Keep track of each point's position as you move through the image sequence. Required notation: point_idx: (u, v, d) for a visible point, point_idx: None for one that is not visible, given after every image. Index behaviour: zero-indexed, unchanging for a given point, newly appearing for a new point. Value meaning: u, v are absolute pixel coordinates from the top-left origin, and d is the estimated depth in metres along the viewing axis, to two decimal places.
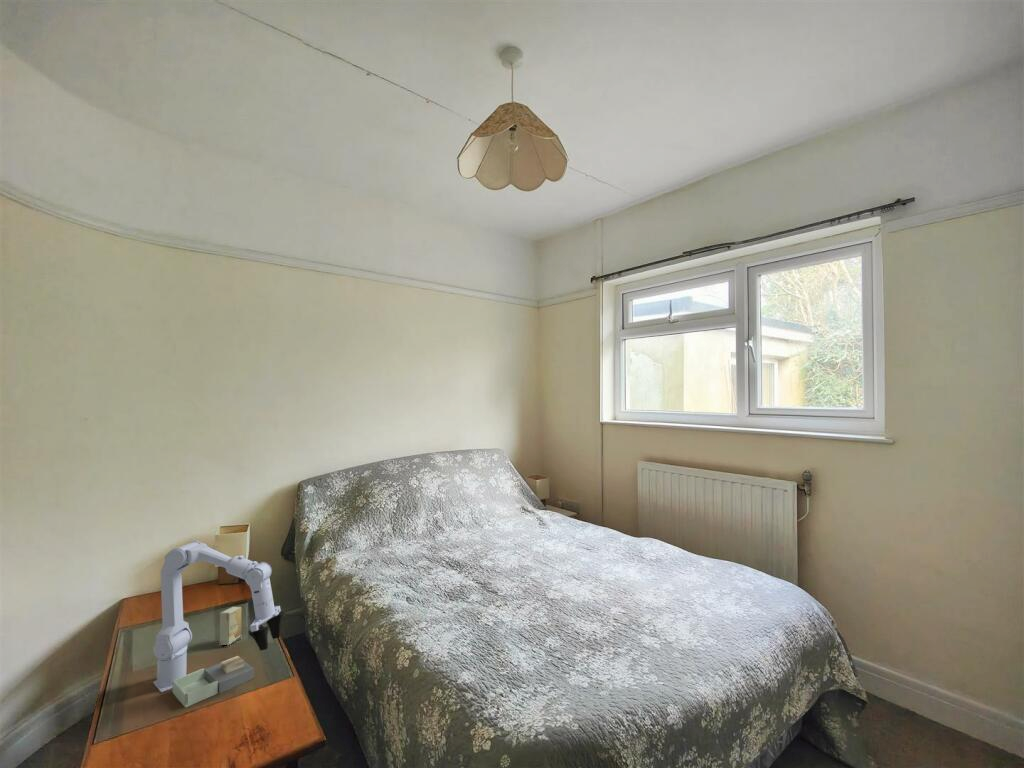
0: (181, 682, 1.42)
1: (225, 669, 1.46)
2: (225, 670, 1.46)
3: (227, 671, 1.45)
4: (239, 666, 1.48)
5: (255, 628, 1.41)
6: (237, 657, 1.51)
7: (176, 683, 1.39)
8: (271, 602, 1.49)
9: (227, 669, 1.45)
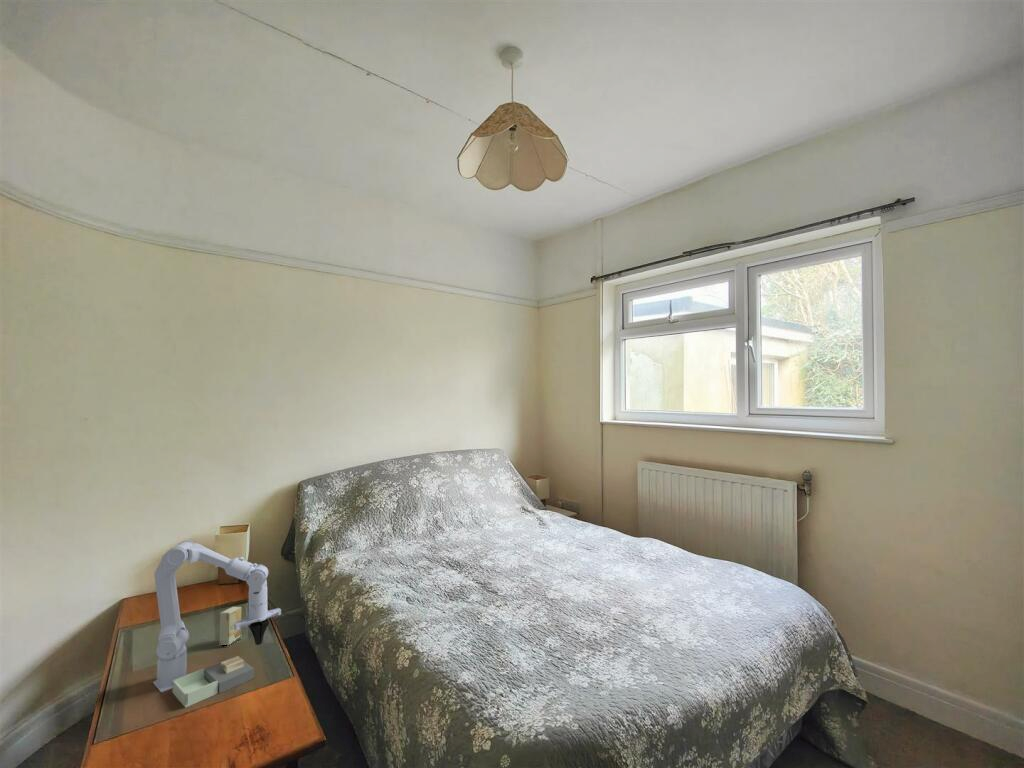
0: (181, 682, 1.42)
1: (225, 669, 1.46)
2: (225, 670, 1.46)
3: (227, 671, 1.45)
4: (239, 666, 1.48)
5: (235, 628, 1.50)
6: (237, 657, 1.51)
7: (176, 683, 1.39)
8: (260, 607, 1.54)
9: (227, 669, 1.45)
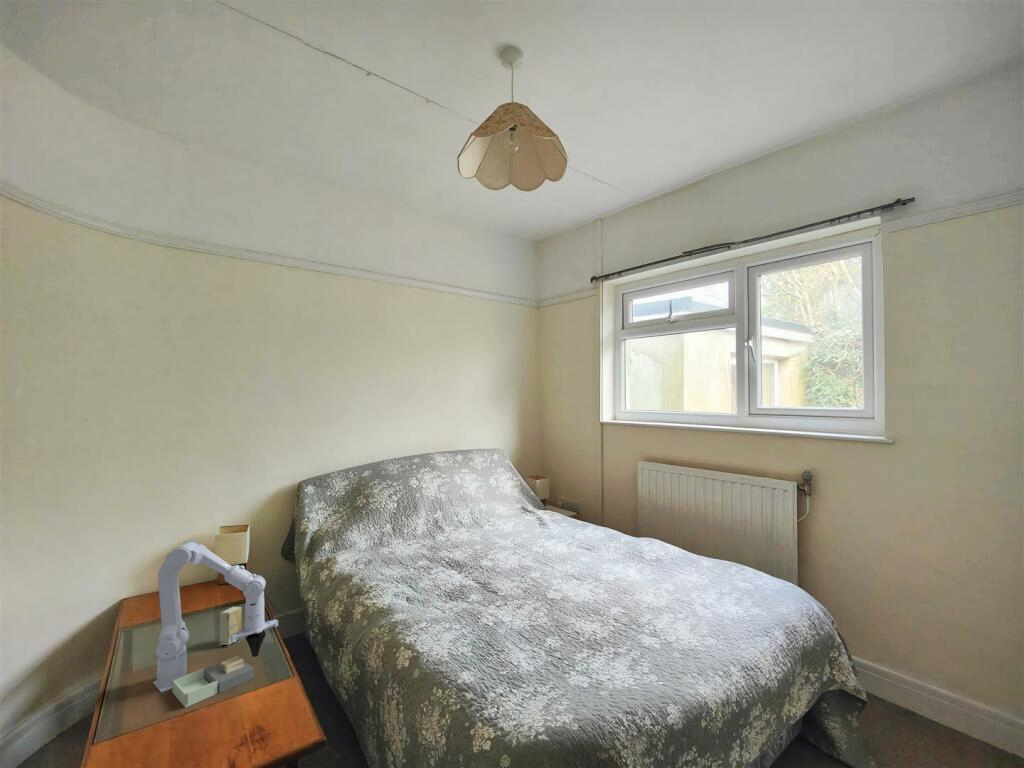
0: (181, 682, 1.42)
1: (225, 669, 1.46)
2: (225, 670, 1.46)
3: (227, 671, 1.45)
4: (239, 666, 1.48)
5: (232, 640, 1.49)
6: (237, 657, 1.51)
7: (176, 683, 1.39)
8: (257, 618, 1.53)
9: (227, 669, 1.45)
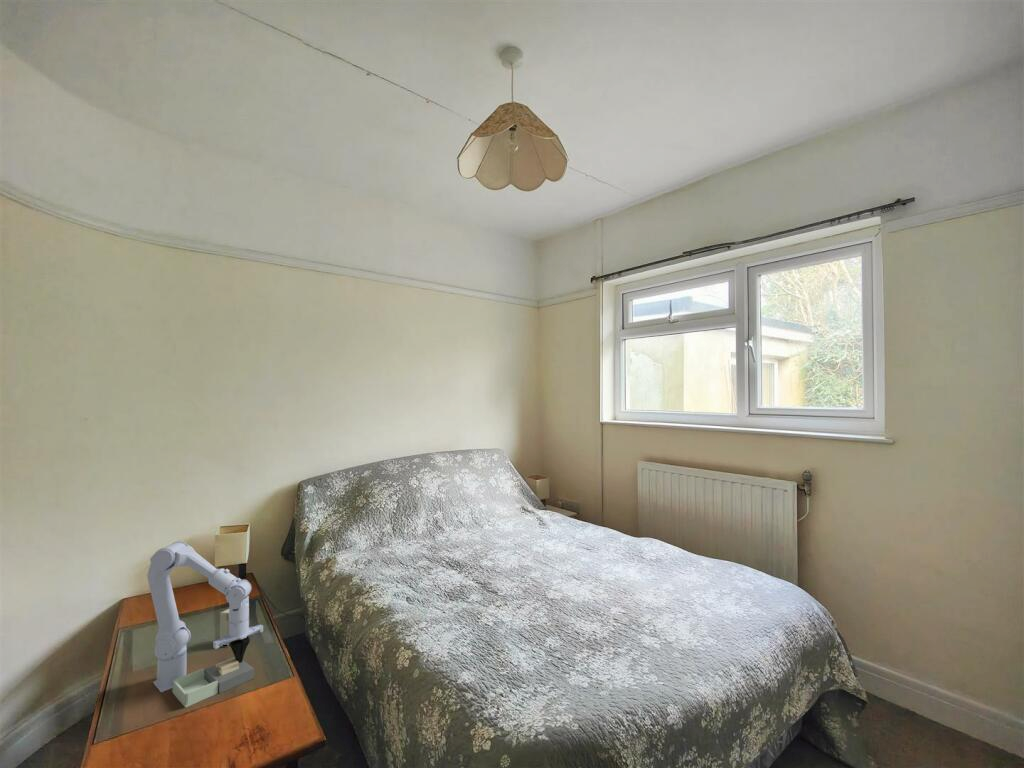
0: (181, 682, 1.42)
1: (220, 671, 1.45)
2: (220, 672, 1.45)
3: (222, 673, 1.44)
4: (234, 668, 1.47)
5: (215, 646, 1.45)
6: (232, 659, 1.50)
7: (176, 683, 1.39)
8: (241, 624, 1.49)
9: (222, 671, 1.44)
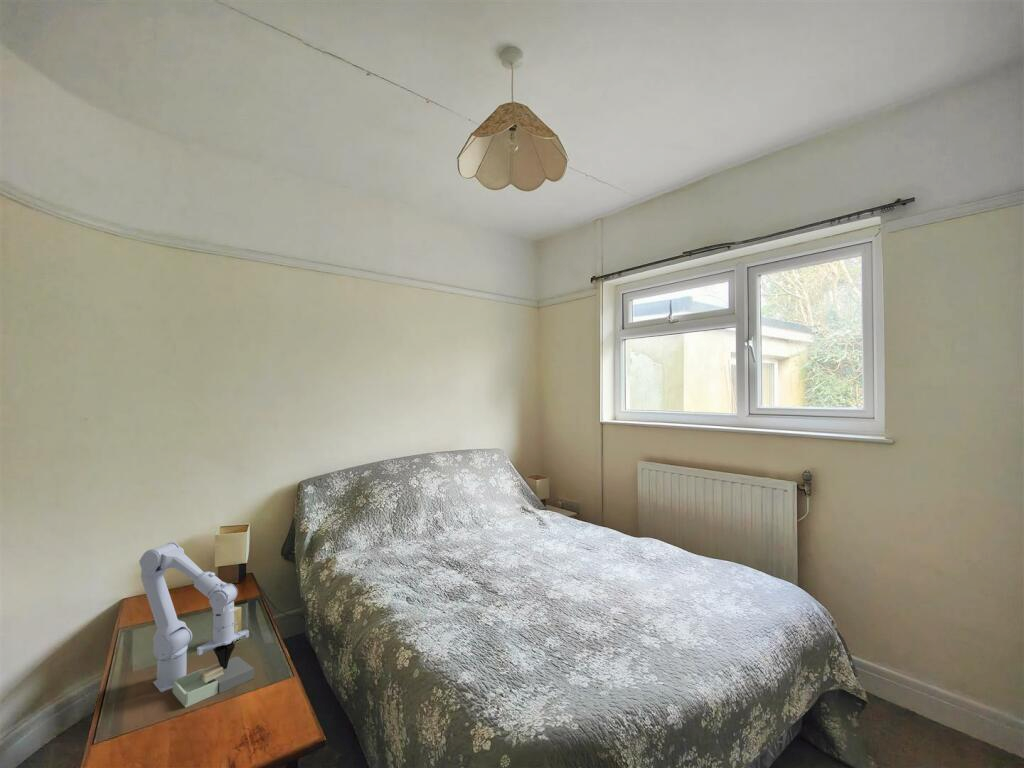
0: (181, 682, 1.42)
1: (204, 678, 1.41)
2: (204, 679, 1.41)
3: (206, 680, 1.41)
4: (219, 674, 1.43)
5: (198, 652, 1.41)
6: (216, 665, 1.46)
7: (176, 683, 1.39)
8: (225, 629, 1.46)
9: (206, 678, 1.41)
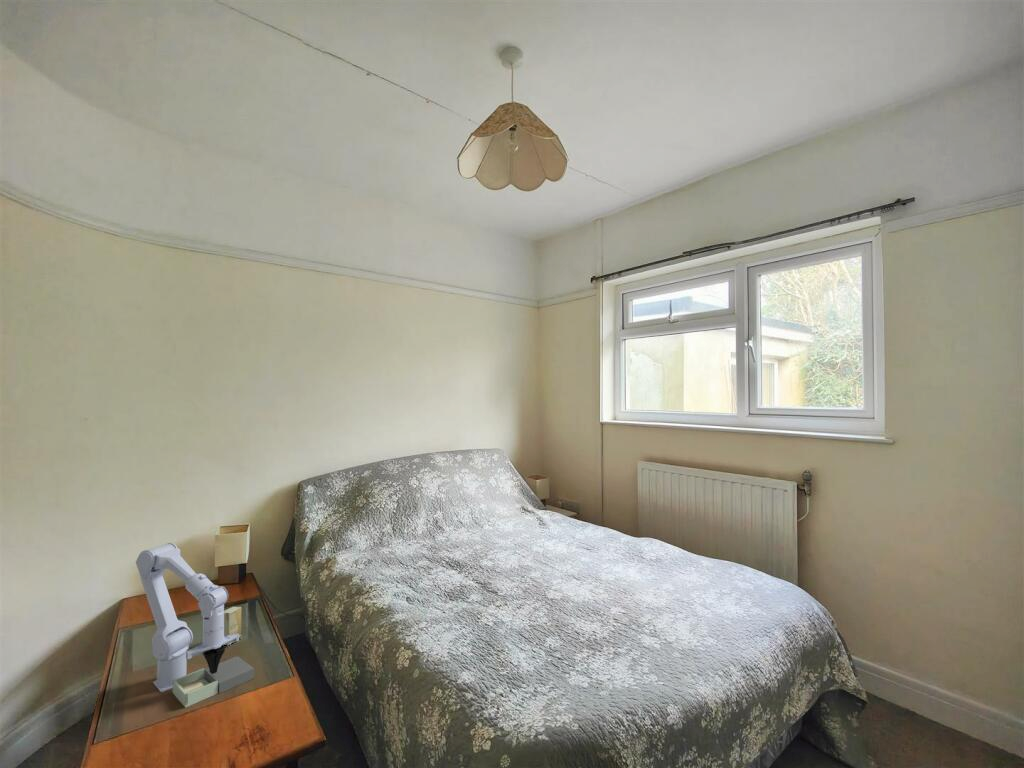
0: (181, 682, 1.42)
1: None
2: None
3: (202, 686, 1.39)
4: (188, 692, 1.37)
5: (187, 656, 1.39)
6: None
7: (176, 683, 1.39)
8: (215, 633, 1.43)
9: None
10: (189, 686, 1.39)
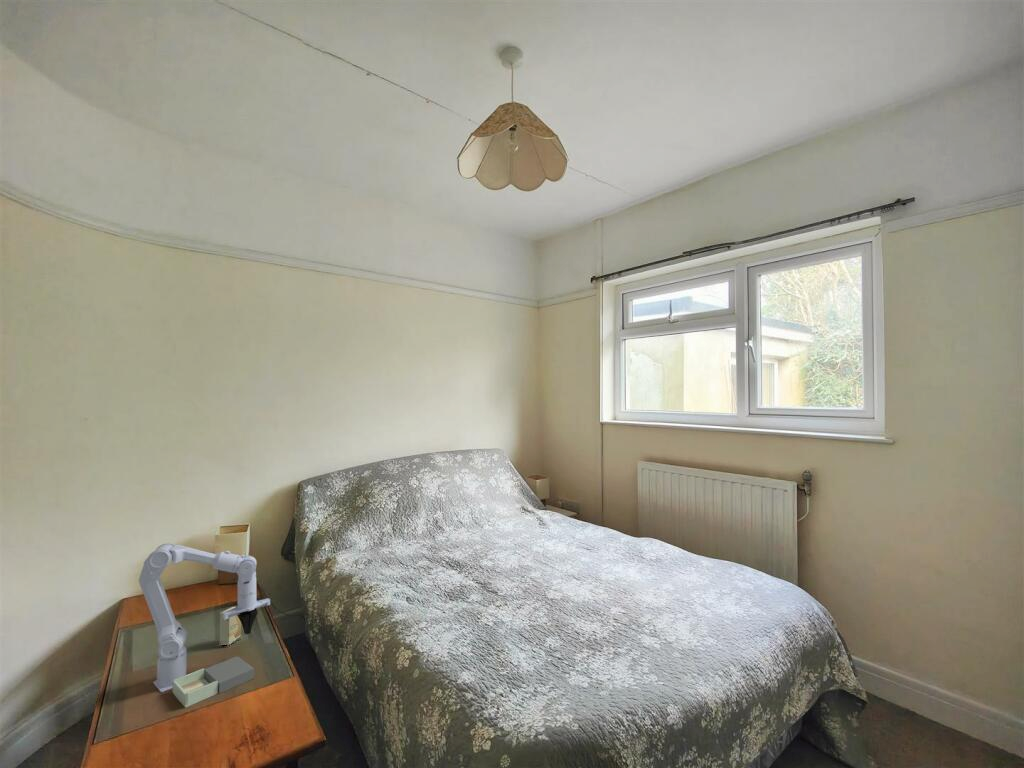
0: (181, 682, 1.42)
1: None
2: None
3: (202, 686, 1.39)
4: (188, 692, 1.37)
5: (224, 617, 1.51)
6: None
7: (176, 683, 1.39)
8: (249, 596, 1.55)
9: None
10: (189, 686, 1.39)
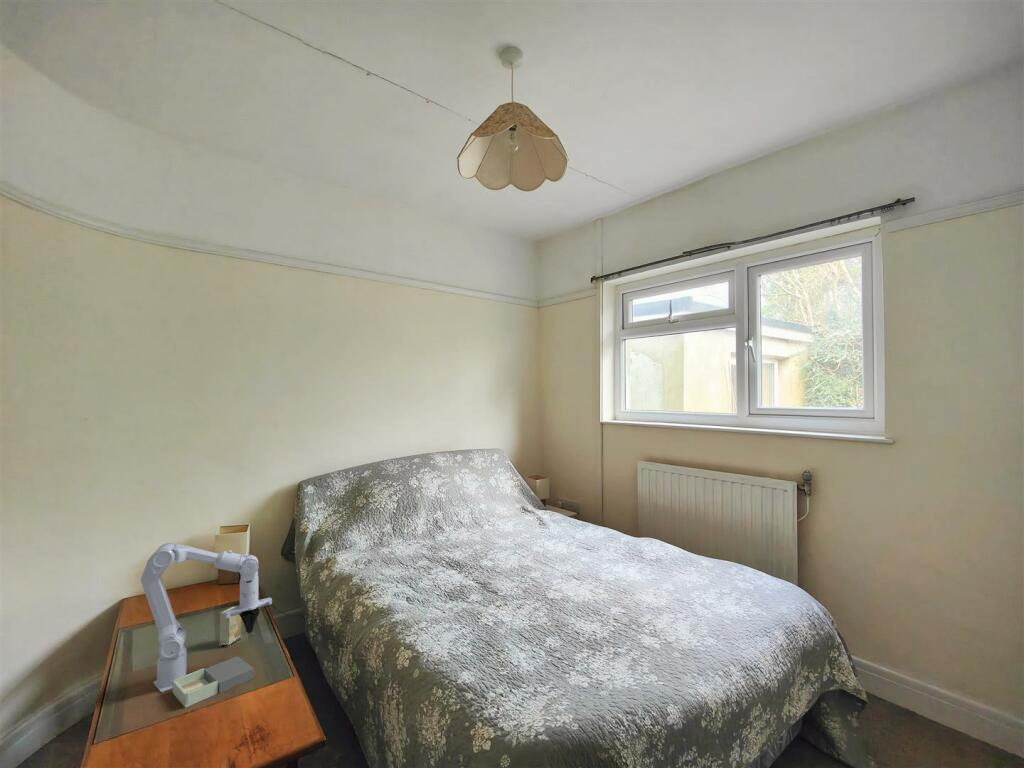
0: (181, 682, 1.42)
1: None
2: None
3: (202, 686, 1.39)
4: (188, 692, 1.37)
5: (226, 616, 1.52)
6: None
7: (176, 683, 1.39)
8: (251, 595, 1.57)
9: None
10: (189, 686, 1.39)
